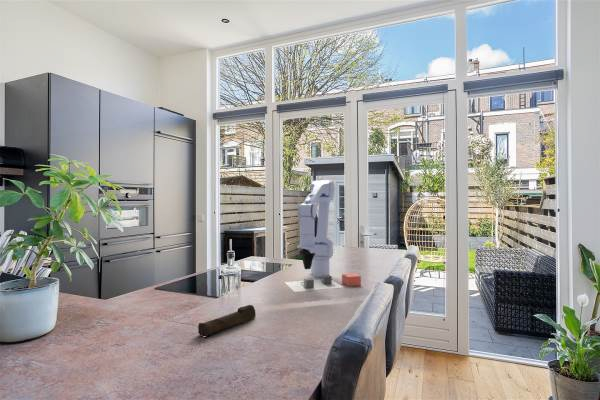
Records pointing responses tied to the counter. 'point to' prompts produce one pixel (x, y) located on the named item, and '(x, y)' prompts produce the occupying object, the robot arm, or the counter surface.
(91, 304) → the counter surface
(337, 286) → the breaker panel
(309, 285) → the block
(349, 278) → the coral red cube
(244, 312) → the hand tool
